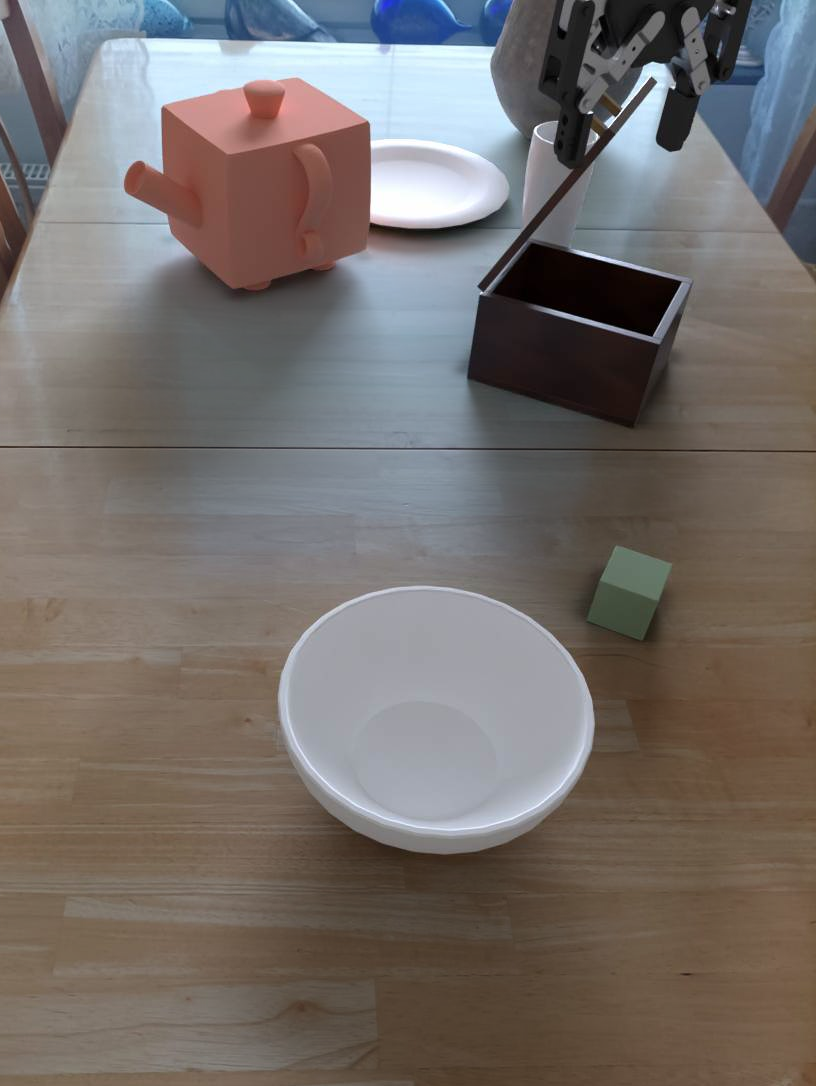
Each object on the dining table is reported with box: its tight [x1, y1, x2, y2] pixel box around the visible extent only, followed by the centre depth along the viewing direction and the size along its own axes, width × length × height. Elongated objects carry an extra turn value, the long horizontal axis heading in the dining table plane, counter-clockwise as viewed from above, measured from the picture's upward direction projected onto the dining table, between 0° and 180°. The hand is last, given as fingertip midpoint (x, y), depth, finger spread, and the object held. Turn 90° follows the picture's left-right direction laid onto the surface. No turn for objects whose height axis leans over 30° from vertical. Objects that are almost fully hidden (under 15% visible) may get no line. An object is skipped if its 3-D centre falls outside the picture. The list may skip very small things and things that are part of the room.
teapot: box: [123, 77, 372, 291], centre depth 102 cm, size 25×23×18 cm
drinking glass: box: [519, 121, 600, 248], centre depth 104 cm, size 7×7×15 cm
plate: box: [370, 138, 511, 231], centre depth 121 cm, size 25×25×2 cm
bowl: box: [277, 585, 596, 855], centre depth 63 cm, size 20×20×7 cm
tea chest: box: [466, 238, 695, 429], centre depth 93 cm, size 17×13×9 cm
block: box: [586, 545, 674, 642], centre depth 73 cm, size 4×4×4 cm
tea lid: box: [477, 74, 658, 292], centre depth 85 cm, size 18×13×5 cm
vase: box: [489, 0, 644, 141], centre depth 126 cm, size 20×19×25 cm
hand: (619, 156), depth 69 cm, fingers open, 8 cm apart
